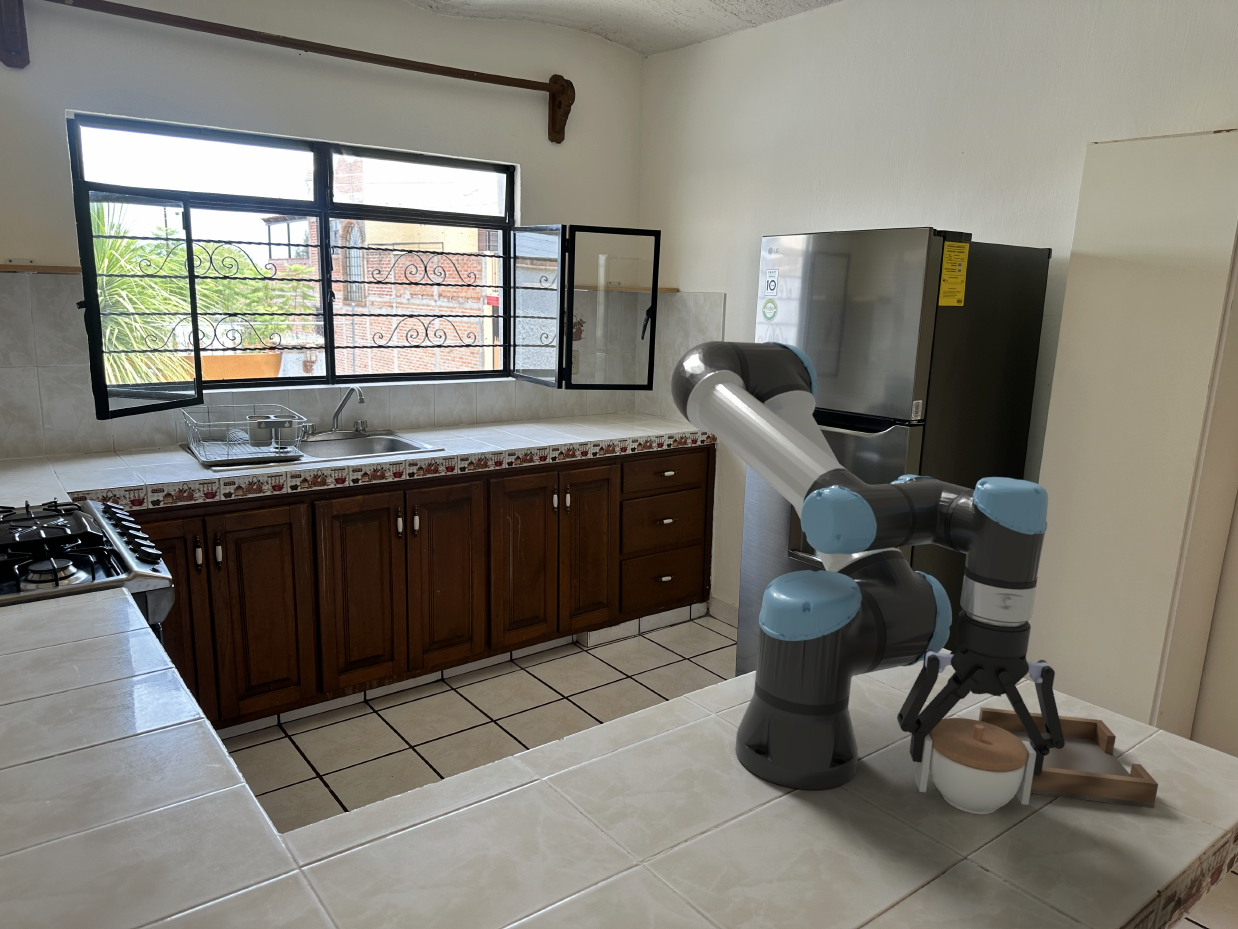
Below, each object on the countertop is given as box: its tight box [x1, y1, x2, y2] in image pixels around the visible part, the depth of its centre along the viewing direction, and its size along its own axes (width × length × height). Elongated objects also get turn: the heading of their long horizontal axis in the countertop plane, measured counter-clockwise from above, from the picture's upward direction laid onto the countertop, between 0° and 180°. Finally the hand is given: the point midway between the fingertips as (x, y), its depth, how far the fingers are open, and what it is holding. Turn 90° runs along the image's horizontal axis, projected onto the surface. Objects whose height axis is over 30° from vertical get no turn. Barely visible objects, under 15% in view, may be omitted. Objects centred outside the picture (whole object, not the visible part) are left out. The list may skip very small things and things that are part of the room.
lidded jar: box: [929, 717, 1028, 815], centre depth 99 cm, size 11×11×9 cm
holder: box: [978, 706, 1159, 809], centre depth 108 cm, size 16×16×3 cm
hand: (970, 791), depth 100 cm, fingers open, 11 cm apart
